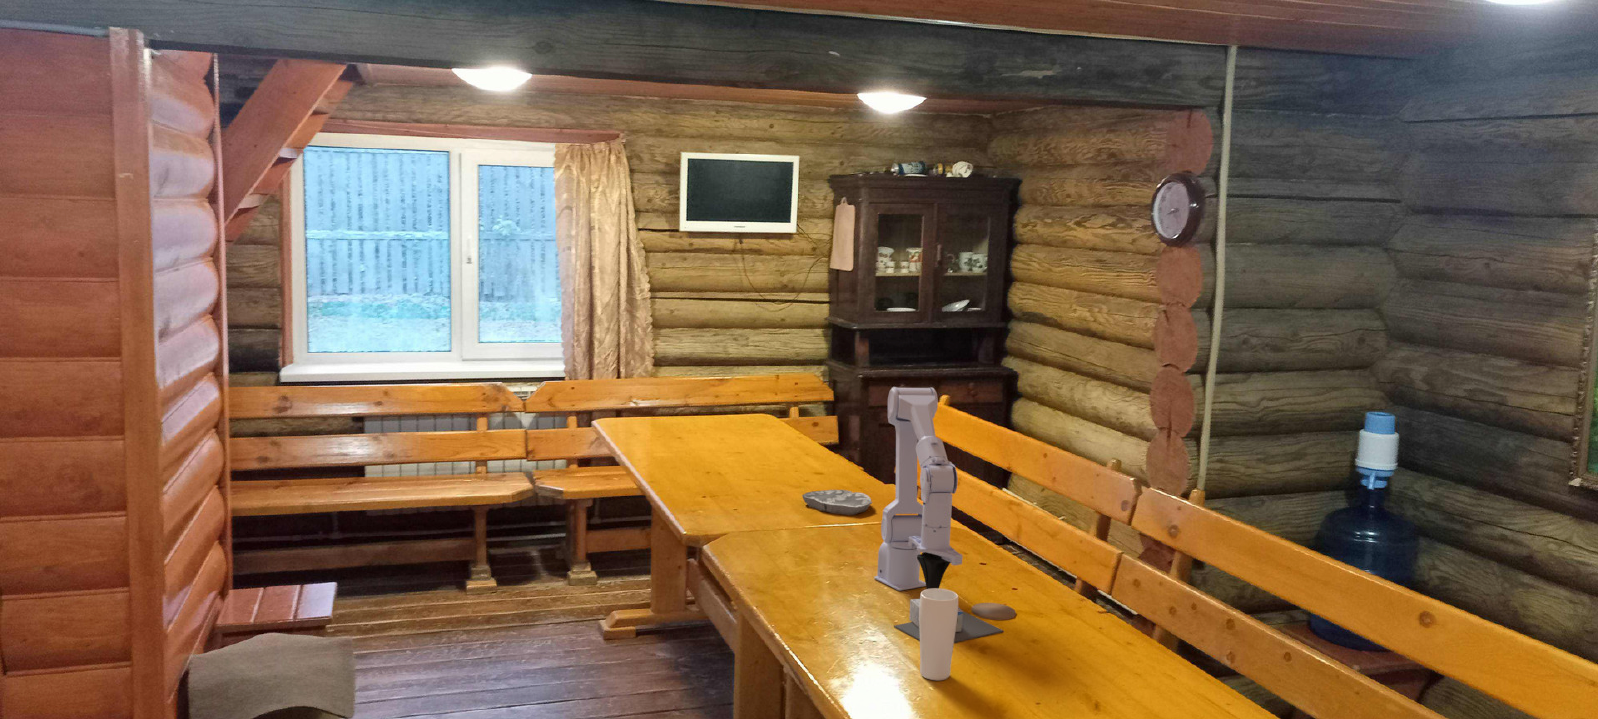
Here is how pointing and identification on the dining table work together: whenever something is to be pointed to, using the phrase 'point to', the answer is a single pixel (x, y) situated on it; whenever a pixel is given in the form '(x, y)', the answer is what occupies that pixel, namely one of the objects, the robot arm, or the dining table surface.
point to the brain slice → (838, 501)
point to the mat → (970, 630)
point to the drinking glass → (937, 632)
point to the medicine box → (915, 614)
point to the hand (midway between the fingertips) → (932, 589)
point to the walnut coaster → (993, 611)
